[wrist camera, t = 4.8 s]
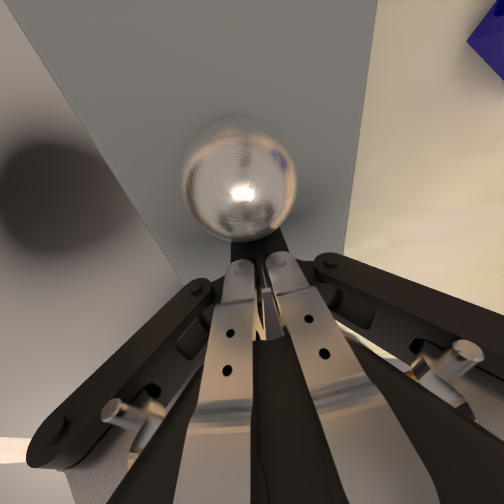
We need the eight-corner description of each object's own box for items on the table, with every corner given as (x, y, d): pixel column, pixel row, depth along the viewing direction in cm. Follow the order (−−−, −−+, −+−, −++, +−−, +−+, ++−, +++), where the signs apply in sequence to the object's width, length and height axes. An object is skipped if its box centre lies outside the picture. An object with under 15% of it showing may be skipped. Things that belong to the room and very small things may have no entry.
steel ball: (188, 153, 10) (131, 108, 5) (278, 131, 10) (301, 64, 5) (212, 241, 12) (182, 268, 7) (293, 223, 11) (323, 239, 6)
